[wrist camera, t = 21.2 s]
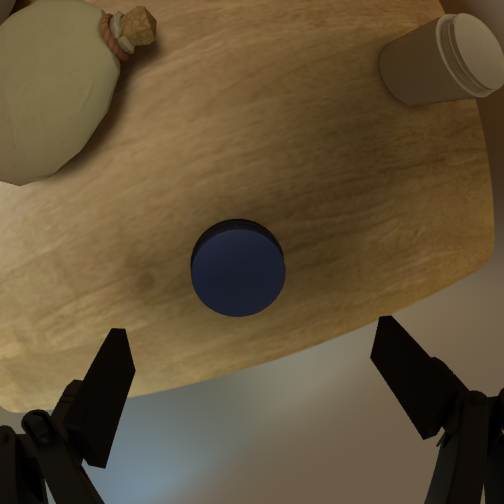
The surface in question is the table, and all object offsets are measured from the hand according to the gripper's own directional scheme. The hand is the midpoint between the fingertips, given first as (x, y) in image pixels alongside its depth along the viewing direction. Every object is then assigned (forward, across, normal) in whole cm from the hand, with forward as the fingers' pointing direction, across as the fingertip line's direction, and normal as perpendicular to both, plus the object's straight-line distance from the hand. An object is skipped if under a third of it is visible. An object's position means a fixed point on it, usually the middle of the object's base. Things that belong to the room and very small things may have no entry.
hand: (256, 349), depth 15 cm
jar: (+13, +16, +19) cm, 28 cm away
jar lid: (+10, 0, 0) cm, 10 cm away
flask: (+13, -15, +17) cm, 26 cm away
